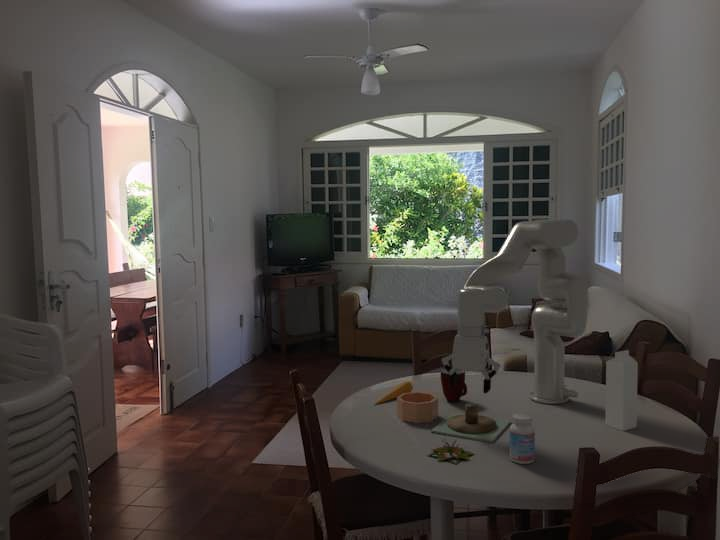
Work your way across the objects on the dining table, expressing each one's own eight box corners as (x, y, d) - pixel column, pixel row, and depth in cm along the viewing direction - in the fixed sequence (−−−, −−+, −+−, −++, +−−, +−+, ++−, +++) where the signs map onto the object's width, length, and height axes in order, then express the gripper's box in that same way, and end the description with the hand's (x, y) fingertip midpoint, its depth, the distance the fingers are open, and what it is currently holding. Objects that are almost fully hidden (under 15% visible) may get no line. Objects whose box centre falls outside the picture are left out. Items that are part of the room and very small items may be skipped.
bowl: (442, 413, 187) (442, 395, 186) (427, 425, 176) (427, 405, 176) (408, 408, 192) (408, 390, 192) (392, 419, 182) (392, 400, 182)
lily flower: (483, 455, 154) (483, 438, 154) (457, 470, 145) (457, 452, 145) (444, 444, 162) (444, 428, 162) (418, 458, 153) (417, 441, 153)
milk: (636, 427, 171) (638, 352, 169) (622, 431, 168) (624, 354, 167) (618, 421, 177) (620, 348, 175) (604, 425, 174) (606, 350, 172)
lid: (502, 421, 176) (501, 401, 176) (487, 436, 164) (487, 415, 164) (457, 415, 183) (456, 396, 183) (440, 429, 171) (439, 408, 171)
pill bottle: (521, 466, 146) (521, 421, 145) (504, 458, 151) (504, 414, 150) (540, 461, 148) (540, 417, 148) (522, 453, 154) (522, 410, 153)
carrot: (407, 393, 212) (402, 381, 213) (416, 390, 209) (411, 378, 210) (371, 412, 198) (366, 400, 198) (380, 410, 195) (375, 397, 195)
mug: (476, 402, 198) (475, 372, 197) (459, 407, 193) (459, 377, 192) (451, 395, 206) (451, 367, 205) (435, 400, 201) (435, 371, 200)
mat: (510, 422, 177) (510, 420, 177) (492, 442, 162) (492, 440, 162) (453, 414, 186) (453, 412, 186) (430, 432, 170) (430, 430, 170)
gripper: (504, 332, 170) (503, 391, 172) (447, 327, 179) (446, 383, 180) (496, 336, 164) (495, 397, 165) (437, 330, 172) (437, 389, 173)
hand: (470, 390), depth 172 cm, fingers open, 9 cm apart
